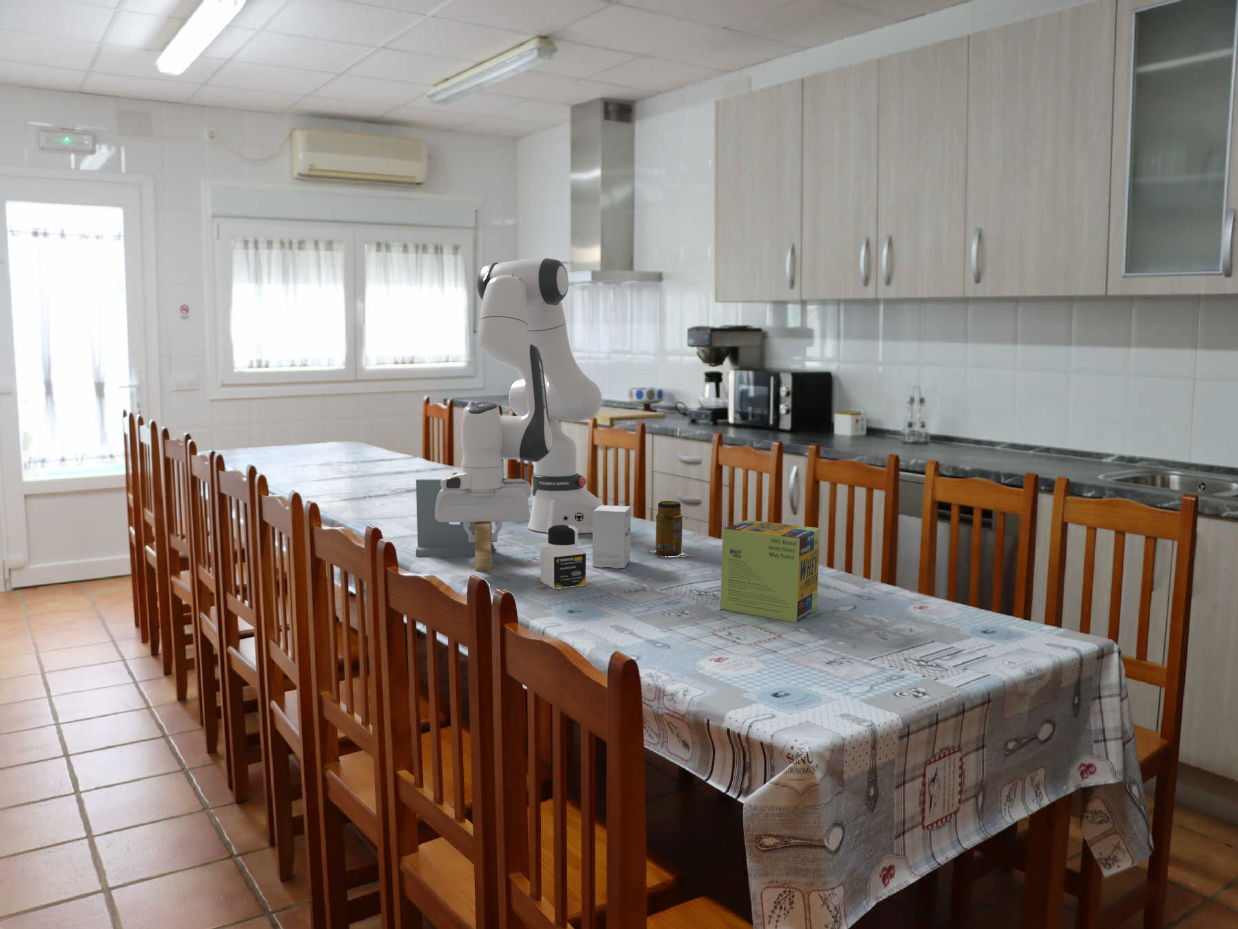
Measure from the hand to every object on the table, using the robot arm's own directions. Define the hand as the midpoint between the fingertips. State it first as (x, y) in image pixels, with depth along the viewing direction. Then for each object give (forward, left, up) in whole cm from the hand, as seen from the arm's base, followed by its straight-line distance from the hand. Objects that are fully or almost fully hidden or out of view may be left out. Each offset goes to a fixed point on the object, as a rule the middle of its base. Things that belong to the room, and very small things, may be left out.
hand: (483, 541), depth 211 cm
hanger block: (0, -2, -6) cm, 6 cm away
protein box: (-55, +35, -6) cm, 65 cm away
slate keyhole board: (+8, -15, -6) cm, 18 cm away
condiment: (-42, -10, -6) cm, 44 cm away
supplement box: (-28, -1, -6) cm, 29 cm away
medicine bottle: (-17, +15, -6) cm, 23 cm away
